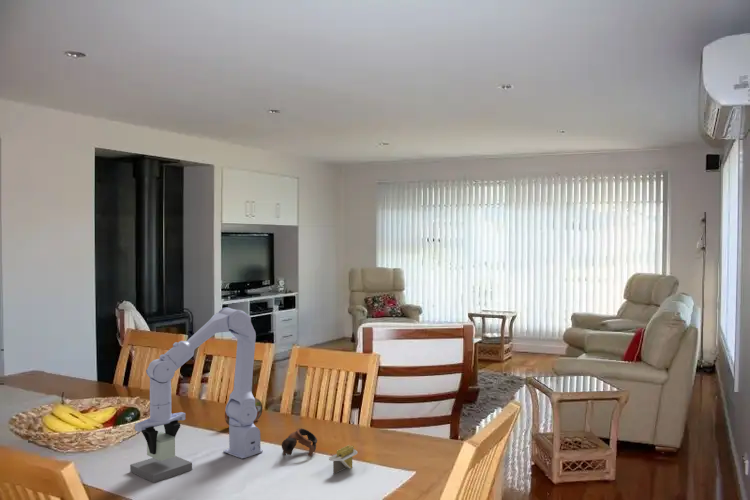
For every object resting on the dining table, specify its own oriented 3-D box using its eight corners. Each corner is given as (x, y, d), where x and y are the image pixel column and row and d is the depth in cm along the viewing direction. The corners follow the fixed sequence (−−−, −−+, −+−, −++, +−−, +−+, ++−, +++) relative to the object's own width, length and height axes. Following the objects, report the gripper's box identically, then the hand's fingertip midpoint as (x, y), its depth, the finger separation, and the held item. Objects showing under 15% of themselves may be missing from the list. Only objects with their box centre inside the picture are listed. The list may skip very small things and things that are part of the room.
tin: (229, 430, 211) (228, 405, 211) (223, 428, 213) (223, 403, 213) (263, 419, 223) (263, 396, 223) (257, 417, 225) (257, 394, 225)
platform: (379, 466, 180) (379, 443, 179) (342, 487, 165) (342, 463, 165) (346, 457, 186) (346, 436, 186) (307, 477, 171) (307, 453, 171)
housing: (161, 450, 179) (161, 431, 179) (175, 456, 174) (174, 437, 174) (147, 455, 176) (146, 435, 175) (160, 461, 171) (160, 441, 171)
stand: (192, 469, 176) (192, 462, 176) (153, 482, 167) (153, 475, 167) (168, 459, 184) (168, 453, 184) (130, 471, 174) (130, 464, 174)
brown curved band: (292, 447, 196) (305, 425, 195) (312, 466, 191) (326, 444, 190) (268, 448, 186) (282, 425, 185) (288, 469, 180) (302, 445, 180)
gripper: (175, 395, 183) (176, 441, 183) (128, 405, 172) (129, 454, 172) (189, 399, 178) (189, 446, 179) (142, 410, 167) (142, 460, 167)
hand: (161, 450), depth 175 cm, fingers closed on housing, 4 cm apart
